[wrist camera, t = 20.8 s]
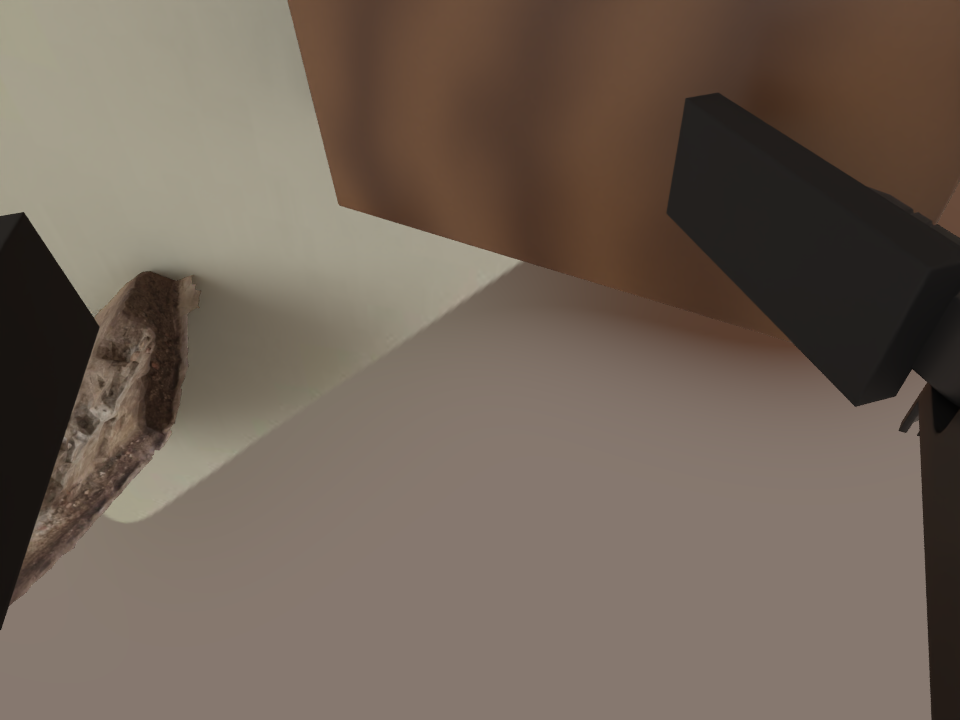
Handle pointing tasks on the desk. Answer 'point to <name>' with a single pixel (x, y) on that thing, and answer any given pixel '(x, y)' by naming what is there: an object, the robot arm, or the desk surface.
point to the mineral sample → (115, 413)
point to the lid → (618, 118)
